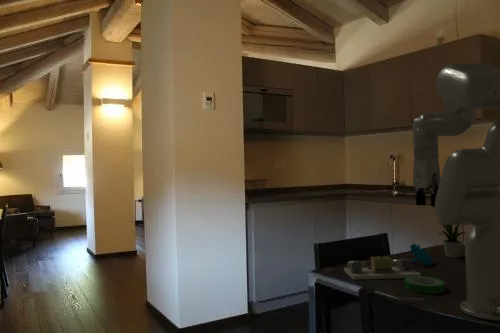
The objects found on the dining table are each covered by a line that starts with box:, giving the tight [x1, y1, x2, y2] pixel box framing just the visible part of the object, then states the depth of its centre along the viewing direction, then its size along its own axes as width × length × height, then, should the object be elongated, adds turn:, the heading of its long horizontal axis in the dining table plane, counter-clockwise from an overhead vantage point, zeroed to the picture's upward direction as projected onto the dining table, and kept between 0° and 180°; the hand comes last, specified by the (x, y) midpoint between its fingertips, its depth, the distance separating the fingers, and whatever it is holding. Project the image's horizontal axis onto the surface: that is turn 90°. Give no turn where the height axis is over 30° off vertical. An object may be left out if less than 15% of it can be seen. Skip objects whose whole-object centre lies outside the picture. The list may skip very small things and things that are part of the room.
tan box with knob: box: [370, 255, 393, 271], centre depth 141 cm, size 6×4×5 cm, turn 92°
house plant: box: [435, 220, 468, 258], centre depth 168 cm, size 14×14×16 cm
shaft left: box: [346, 259, 370, 273], centre depth 141 cm, size 7×4×4 cm, turn 92°
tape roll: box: [404, 275, 446, 295], centre depth 123 cm, size 11×11×3 cm
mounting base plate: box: [343, 265, 422, 281], centre depth 141 cm, size 12×23×2 cm, turn 92°
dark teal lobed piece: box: [409, 243, 434, 267], centre depth 155 cm, size 11×6×10 cm
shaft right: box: [392, 257, 414, 271], centre depth 142 cm, size 7×4×4 cm, turn 107°
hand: (428, 205), depth 133 cm, fingers open, 9 cm apart
